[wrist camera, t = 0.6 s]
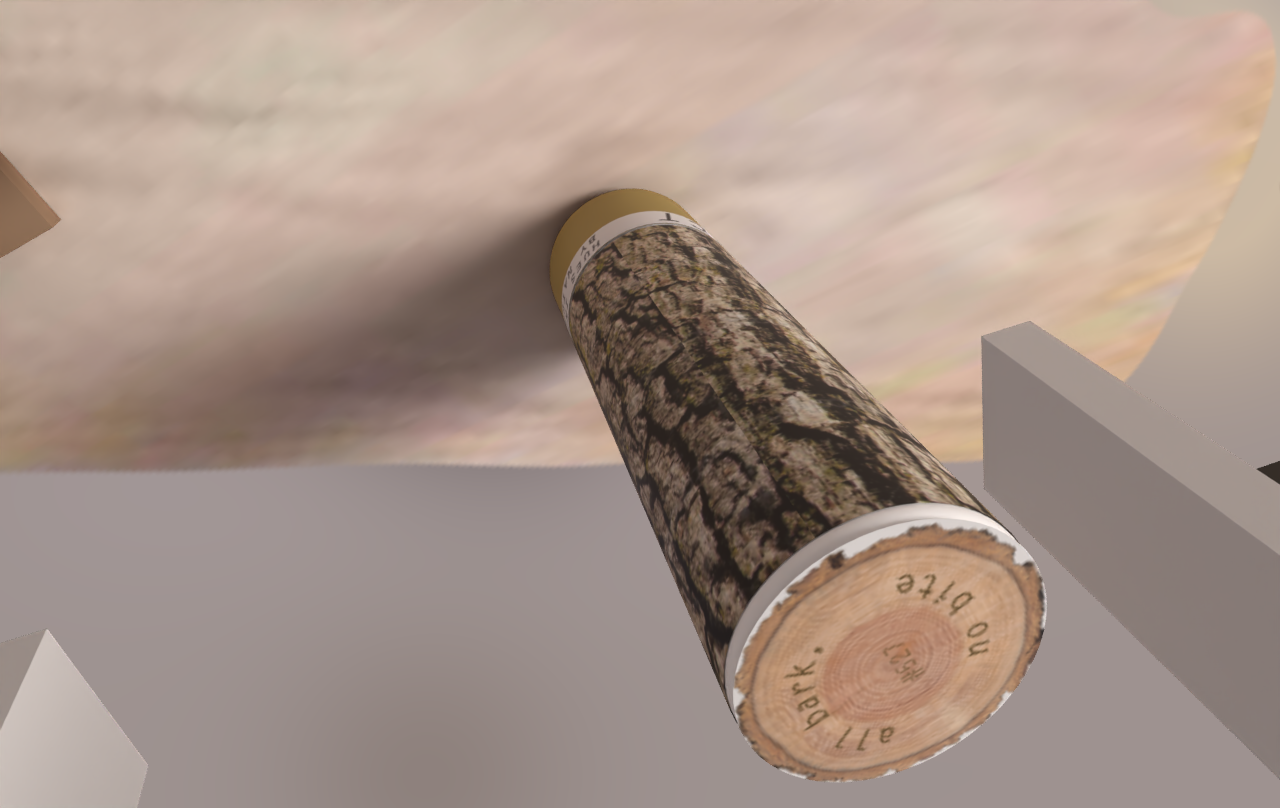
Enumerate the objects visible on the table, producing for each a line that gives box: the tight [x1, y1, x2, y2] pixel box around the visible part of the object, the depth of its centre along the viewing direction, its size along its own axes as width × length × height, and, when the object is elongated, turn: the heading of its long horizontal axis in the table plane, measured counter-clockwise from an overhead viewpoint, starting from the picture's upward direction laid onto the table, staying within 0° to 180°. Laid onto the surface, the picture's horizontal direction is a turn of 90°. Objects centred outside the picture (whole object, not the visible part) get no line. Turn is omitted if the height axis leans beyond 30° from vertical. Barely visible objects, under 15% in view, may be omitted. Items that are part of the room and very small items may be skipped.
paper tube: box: [550, 189, 1047, 782], centre depth 29 cm, size 7×7×25 cm
